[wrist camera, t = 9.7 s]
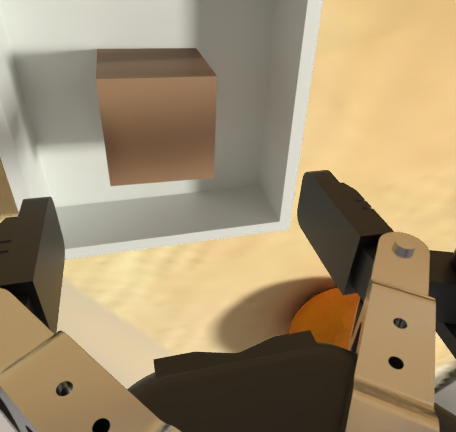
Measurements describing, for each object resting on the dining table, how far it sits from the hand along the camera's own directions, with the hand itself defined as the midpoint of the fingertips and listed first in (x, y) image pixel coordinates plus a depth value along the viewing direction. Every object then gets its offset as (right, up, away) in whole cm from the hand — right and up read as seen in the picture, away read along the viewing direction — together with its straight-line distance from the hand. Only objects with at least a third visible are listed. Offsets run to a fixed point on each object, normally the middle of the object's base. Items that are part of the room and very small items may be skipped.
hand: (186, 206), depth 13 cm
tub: (-3, +7, +10) cm, 12 cm away
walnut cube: (-3, +6, +9) cm, 11 cm away
